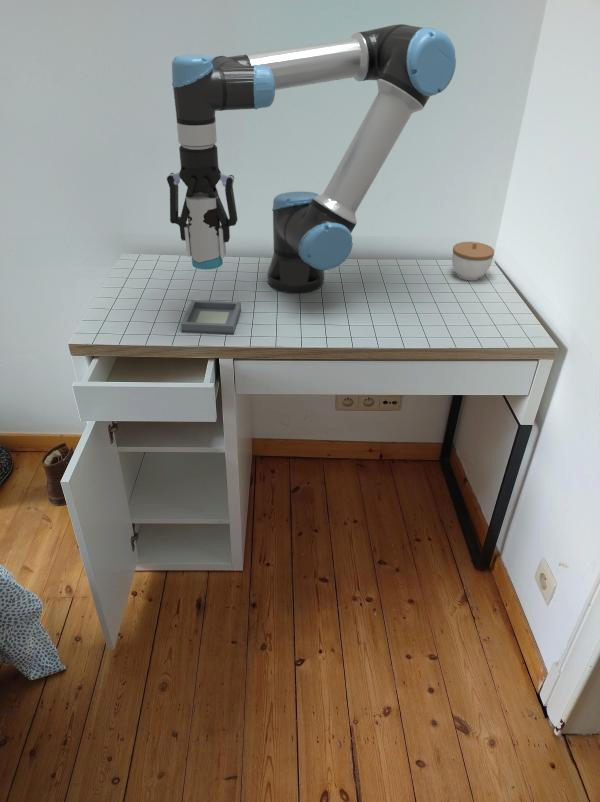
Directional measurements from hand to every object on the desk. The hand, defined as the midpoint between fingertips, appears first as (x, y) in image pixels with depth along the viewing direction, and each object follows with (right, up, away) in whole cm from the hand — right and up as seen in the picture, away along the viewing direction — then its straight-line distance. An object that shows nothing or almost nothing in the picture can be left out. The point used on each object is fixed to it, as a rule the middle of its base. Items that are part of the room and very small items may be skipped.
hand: (206, 254), depth 134 cm
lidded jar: (+67, +2, +33) cm, 74 cm away
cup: (0, -2, +1) cm, 2 cm away
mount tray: (0, -13, +10) cm, 17 cm away
